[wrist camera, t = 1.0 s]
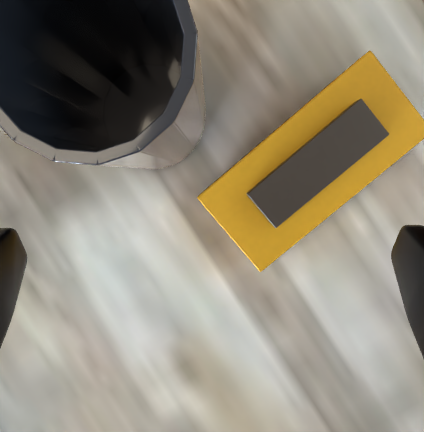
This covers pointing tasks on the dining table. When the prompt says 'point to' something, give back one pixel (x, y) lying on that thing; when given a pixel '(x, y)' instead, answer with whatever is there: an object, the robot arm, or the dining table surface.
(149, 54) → the tumbler
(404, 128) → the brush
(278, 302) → the dining table surface
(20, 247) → the robot arm
